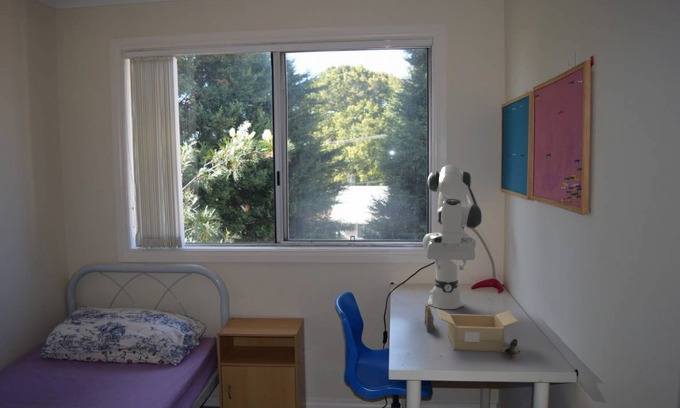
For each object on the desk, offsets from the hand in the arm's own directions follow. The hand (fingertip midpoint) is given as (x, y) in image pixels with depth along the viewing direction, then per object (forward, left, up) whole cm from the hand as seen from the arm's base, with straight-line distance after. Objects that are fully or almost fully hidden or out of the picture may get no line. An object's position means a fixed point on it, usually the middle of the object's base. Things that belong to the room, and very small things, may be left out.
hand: (449, 269), depth 204 cm
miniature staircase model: (-14, -6, -32) cm, 35 cm away
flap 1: (+3, +1, -21) cm, 21 cm away
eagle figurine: (+15, +22, -32) cm, 41 cm away
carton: (+3, +11, -31) cm, 33 cm away
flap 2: (+3, +21, -21) cm, 30 cm away
